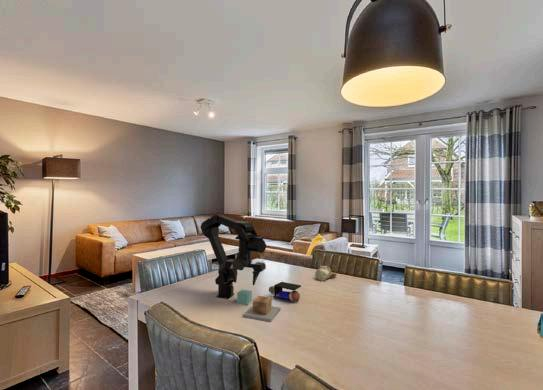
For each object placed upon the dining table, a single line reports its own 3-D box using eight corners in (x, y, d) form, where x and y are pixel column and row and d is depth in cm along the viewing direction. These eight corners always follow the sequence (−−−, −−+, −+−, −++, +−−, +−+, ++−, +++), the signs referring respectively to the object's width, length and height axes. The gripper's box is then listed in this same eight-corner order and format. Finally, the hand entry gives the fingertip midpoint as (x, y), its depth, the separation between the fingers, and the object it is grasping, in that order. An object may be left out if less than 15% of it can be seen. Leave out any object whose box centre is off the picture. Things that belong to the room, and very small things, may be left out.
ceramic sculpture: (310, 264, 165) (322, 261, 177) (310, 279, 164) (321, 275, 177) (327, 267, 158) (338, 264, 171) (327, 283, 158) (337, 278, 170)
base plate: (243, 316, 115) (243, 314, 115) (254, 305, 127) (254, 303, 126) (271, 321, 111) (271, 319, 111) (280, 309, 122) (280, 307, 122)
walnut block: (252, 312, 117) (252, 300, 117) (258, 307, 123) (258, 295, 123) (266, 315, 115) (266, 302, 115) (271, 309, 121) (271, 297, 121)
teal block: (237, 303, 129) (237, 292, 129) (241, 299, 134) (241, 289, 134) (247, 305, 127) (247, 294, 127) (251, 301, 132) (251, 290, 132)
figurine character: (268, 300, 137) (295, 304, 128) (267, 284, 137) (294, 287, 128) (276, 296, 142) (303, 300, 133) (275, 280, 143) (301, 283, 134)
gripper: (217, 251, 126) (217, 286, 126) (256, 255, 119) (256, 292, 120) (229, 246, 136) (229, 279, 136) (266, 250, 130) (265, 284, 130)
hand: (244, 283), depth 130 cm, fingers open, 9 cm apart
